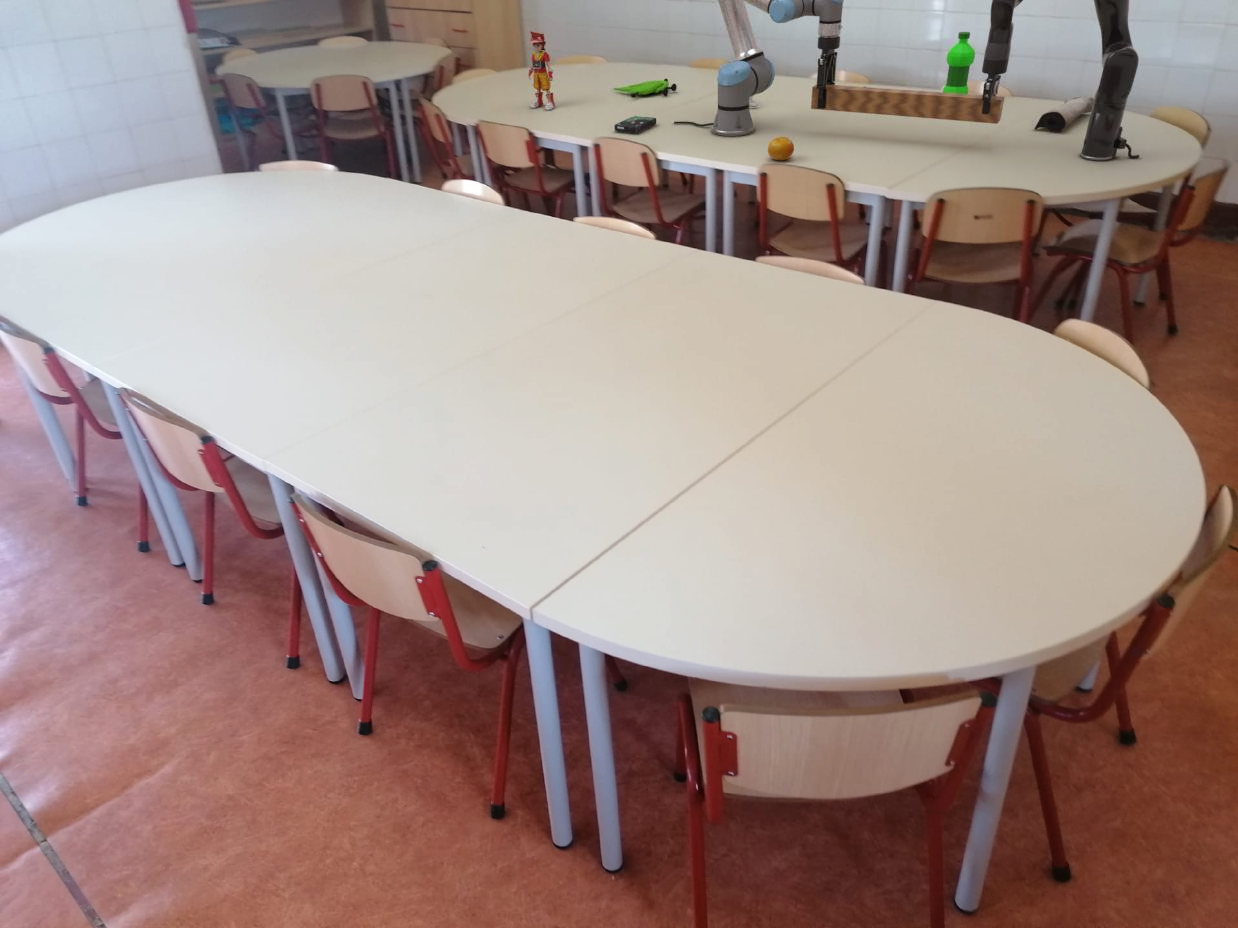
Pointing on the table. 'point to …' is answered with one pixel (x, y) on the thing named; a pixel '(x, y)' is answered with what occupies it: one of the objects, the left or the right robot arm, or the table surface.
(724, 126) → the left robot arm
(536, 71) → the toy
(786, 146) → the fruit
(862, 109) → the beam
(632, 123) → the disk drive
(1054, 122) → the rolled mat
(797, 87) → the table surface
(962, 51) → the plastic bottle
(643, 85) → the toy
